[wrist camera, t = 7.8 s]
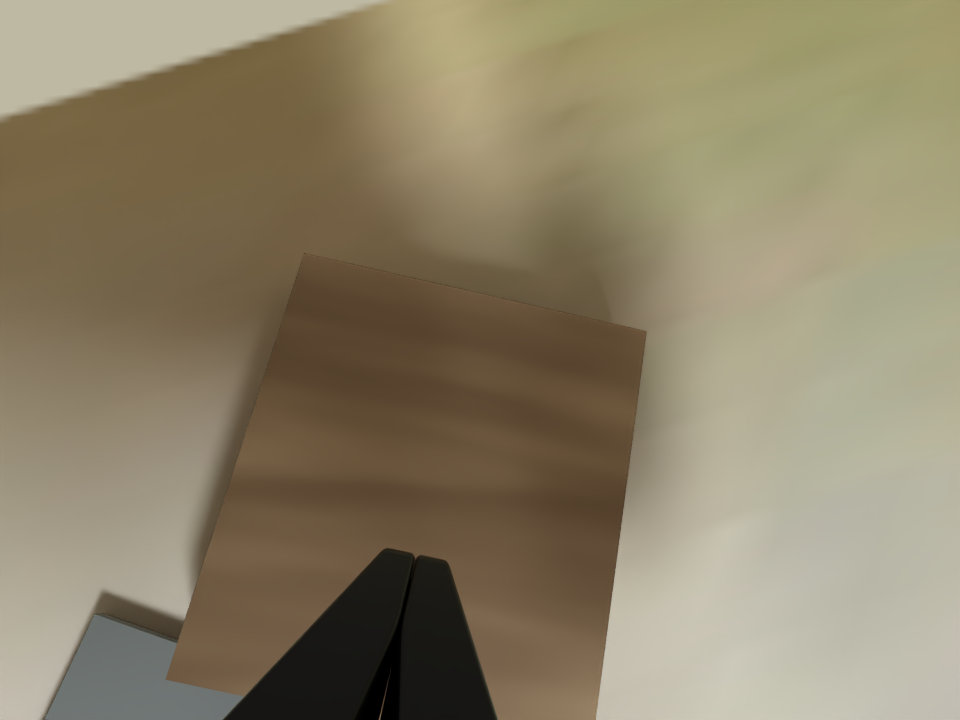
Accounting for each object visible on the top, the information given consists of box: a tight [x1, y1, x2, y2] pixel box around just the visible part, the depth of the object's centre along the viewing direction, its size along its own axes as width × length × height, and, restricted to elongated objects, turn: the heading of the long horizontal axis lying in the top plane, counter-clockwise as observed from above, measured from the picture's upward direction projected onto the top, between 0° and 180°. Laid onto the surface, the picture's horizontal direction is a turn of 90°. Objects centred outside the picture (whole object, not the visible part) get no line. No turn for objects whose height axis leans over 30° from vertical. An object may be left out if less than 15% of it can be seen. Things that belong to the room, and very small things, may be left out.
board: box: [165, 253, 647, 720], centre depth 15 cm, size 2×8×9 cm
